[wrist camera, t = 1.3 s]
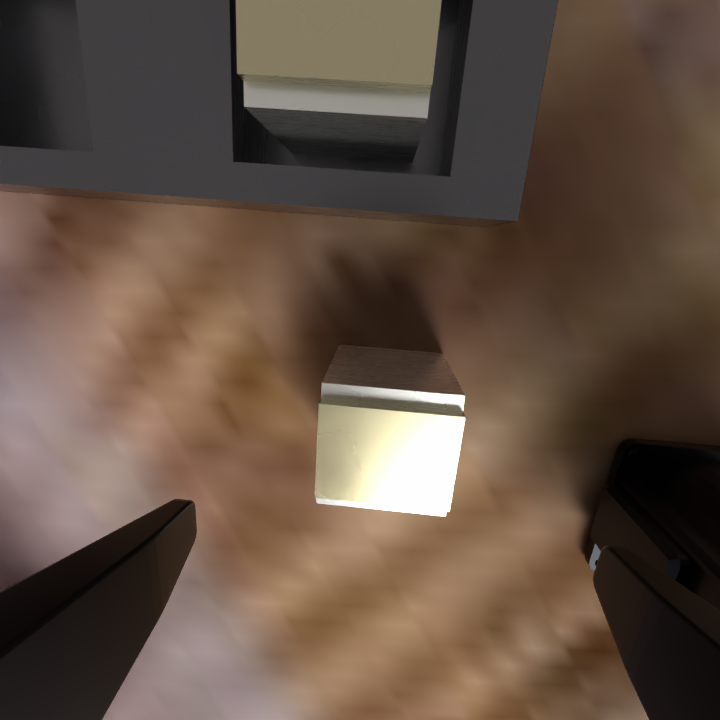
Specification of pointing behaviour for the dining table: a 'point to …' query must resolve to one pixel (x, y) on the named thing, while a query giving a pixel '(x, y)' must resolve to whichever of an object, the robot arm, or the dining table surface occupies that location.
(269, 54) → the beige block
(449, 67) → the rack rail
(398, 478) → the cream two-tone block
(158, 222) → the dining table surface
